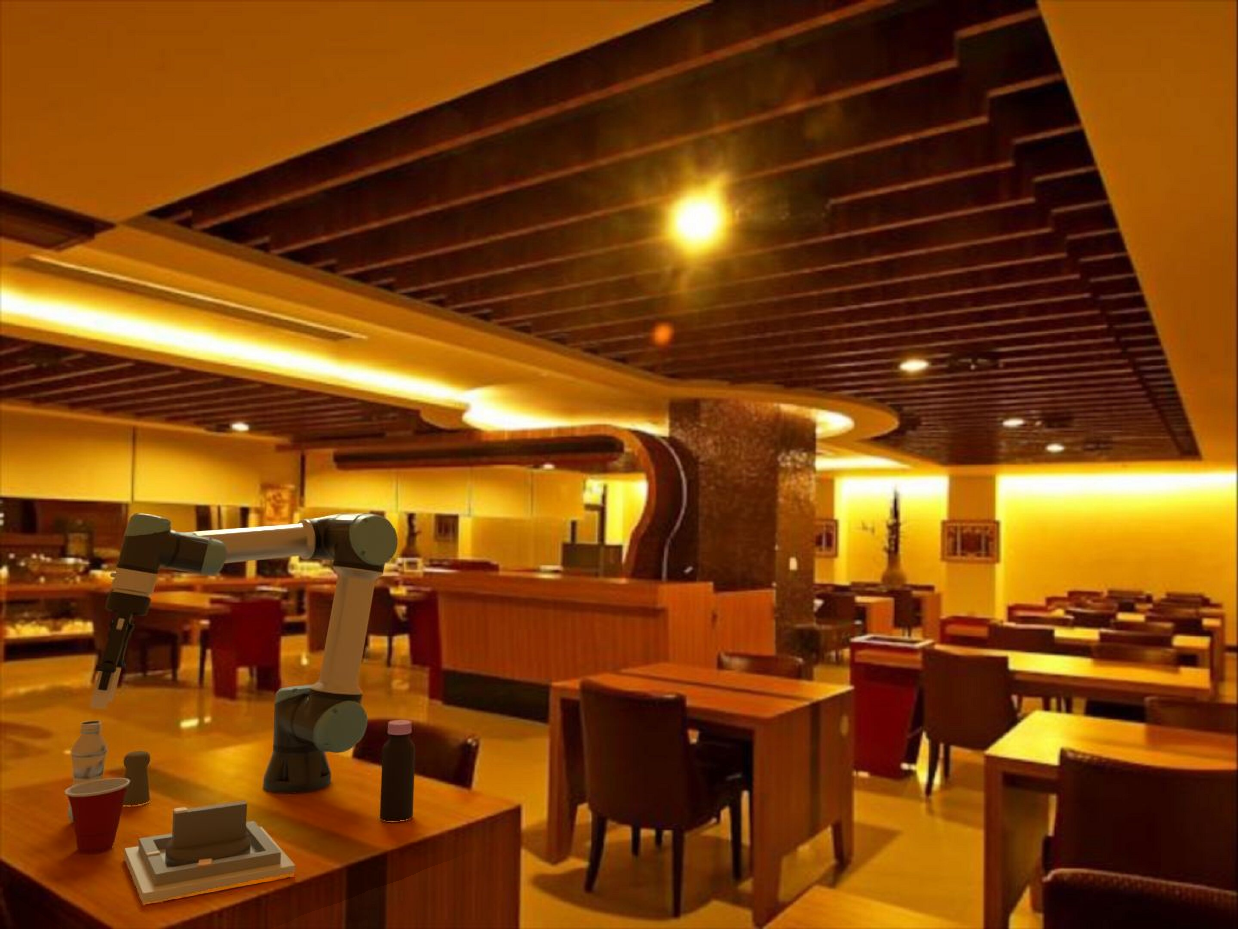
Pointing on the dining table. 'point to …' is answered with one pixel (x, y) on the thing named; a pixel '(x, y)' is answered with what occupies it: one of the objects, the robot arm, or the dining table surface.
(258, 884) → the dining table surface
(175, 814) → the oval knob with handle
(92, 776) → the plastic bottle
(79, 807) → the plastic cup
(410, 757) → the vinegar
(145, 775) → the cork
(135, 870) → the panel
